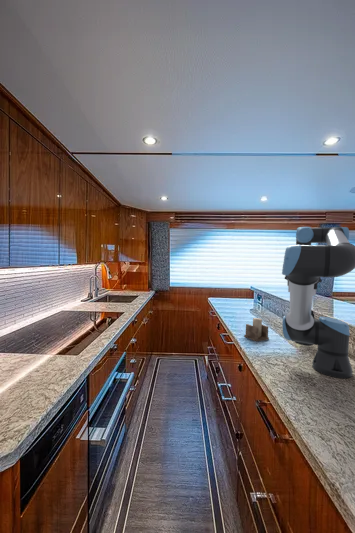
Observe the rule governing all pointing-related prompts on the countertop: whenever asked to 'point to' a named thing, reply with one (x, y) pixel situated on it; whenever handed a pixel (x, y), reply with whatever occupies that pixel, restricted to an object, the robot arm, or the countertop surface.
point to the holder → (256, 333)
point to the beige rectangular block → (258, 325)
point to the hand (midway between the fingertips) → (301, 293)
